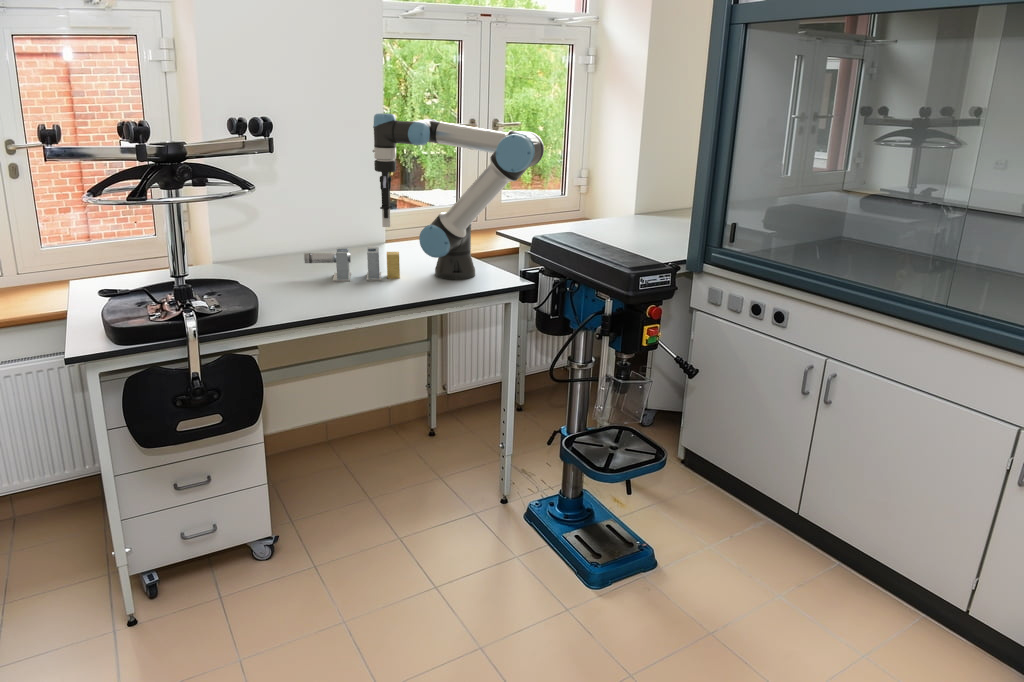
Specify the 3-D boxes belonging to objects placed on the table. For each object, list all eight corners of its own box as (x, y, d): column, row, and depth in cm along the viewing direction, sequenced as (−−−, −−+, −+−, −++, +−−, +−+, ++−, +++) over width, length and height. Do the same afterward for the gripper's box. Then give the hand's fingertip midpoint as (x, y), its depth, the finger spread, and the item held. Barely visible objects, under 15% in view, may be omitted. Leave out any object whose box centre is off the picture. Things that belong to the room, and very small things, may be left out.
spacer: (399, 275, 274) (398, 251, 271) (399, 278, 270) (399, 254, 267) (387, 275, 274) (386, 251, 270) (387, 278, 269) (386, 254, 266)
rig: (381, 273, 276) (380, 246, 272) (381, 280, 267) (379, 253, 263) (334, 274, 273) (332, 247, 270) (332, 281, 264) (331, 253, 260)
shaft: (350, 261, 269) (350, 251, 268) (350, 263, 266) (349, 253, 265) (305, 262, 267) (305, 252, 265) (304, 264, 263) (303, 254, 262)
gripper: (375, 157, 263) (377, 222, 271) (372, 161, 251) (374, 230, 259) (397, 157, 264) (397, 223, 272) (395, 162, 251) (395, 230, 260)
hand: (386, 226), depth 265 cm, fingers closed
